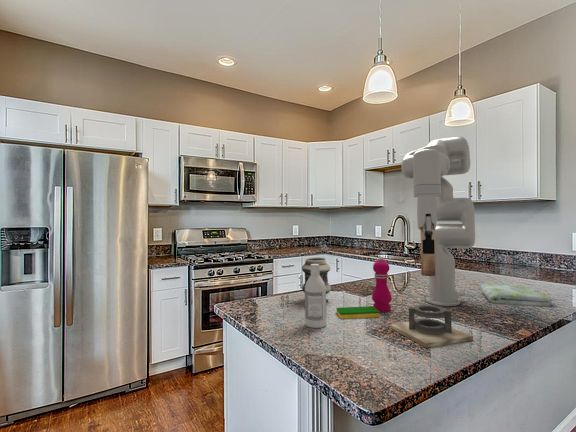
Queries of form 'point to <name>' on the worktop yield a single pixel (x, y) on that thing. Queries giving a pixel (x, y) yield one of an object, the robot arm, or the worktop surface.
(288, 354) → the worktop surface
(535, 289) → the towel
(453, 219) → the robot arm
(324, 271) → the apothecary jar
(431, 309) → the collar stand
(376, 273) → the pepper mill
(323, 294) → the bath foam
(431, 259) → the tan cylinder
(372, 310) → the dish sponge
